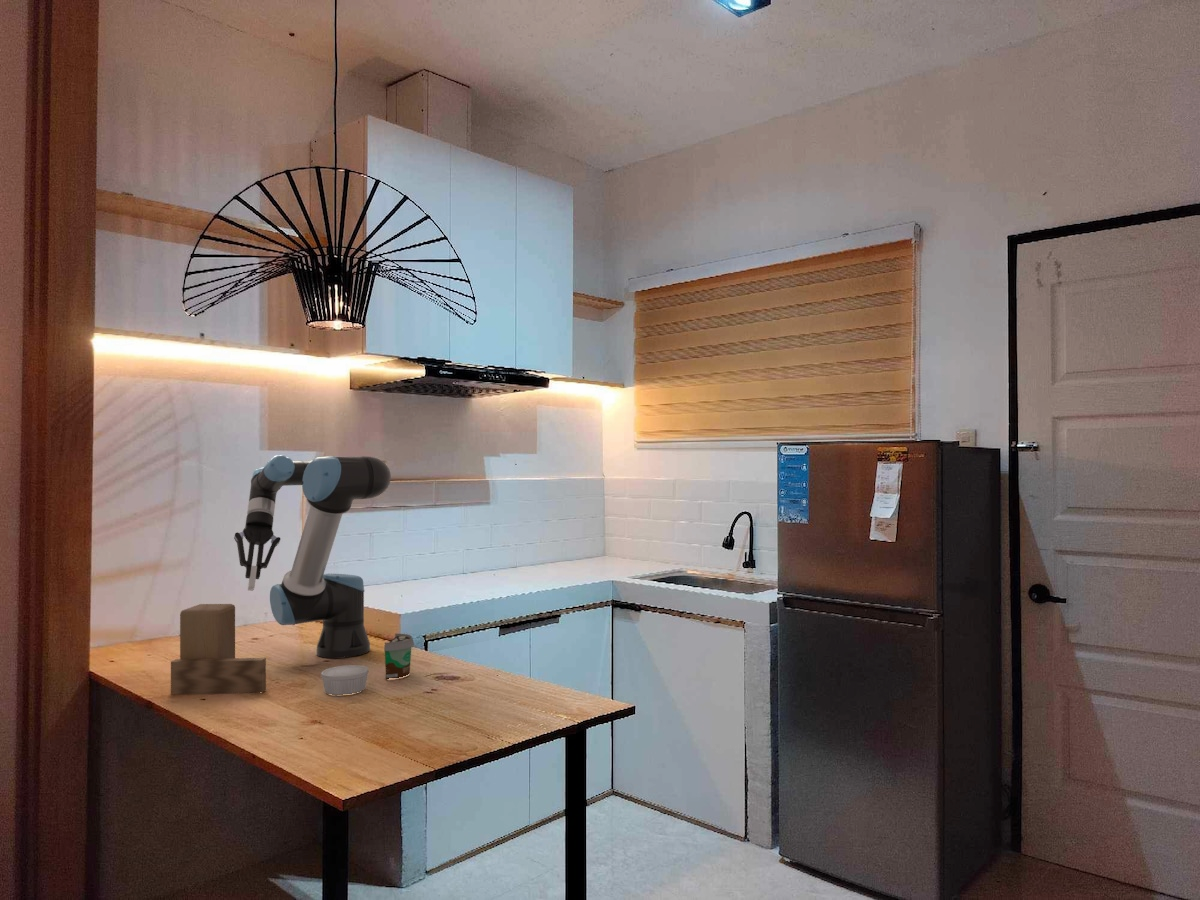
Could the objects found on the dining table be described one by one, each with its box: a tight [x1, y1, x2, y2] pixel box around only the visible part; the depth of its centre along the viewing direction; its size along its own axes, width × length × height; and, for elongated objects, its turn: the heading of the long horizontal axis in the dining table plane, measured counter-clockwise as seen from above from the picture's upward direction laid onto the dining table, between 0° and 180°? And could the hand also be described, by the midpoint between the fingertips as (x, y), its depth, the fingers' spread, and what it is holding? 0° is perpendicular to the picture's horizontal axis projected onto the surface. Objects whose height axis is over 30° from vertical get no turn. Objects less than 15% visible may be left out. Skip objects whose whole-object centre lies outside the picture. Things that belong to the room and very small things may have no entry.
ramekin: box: [320, 664, 370, 695], centre depth 203 cm, size 11×11×5 cm
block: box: [179, 603, 236, 659], centre depth 210 cm, size 10×10×20 cm
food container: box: [383, 633, 415, 680], centre depth 218 cm, size 12×6×10 cm, turn 0°
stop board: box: [170, 657, 267, 695], centre depth 203 cm, size 22×2×8 cm, turn 92°
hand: (251, 588), depth 236 cm, fingers closed
